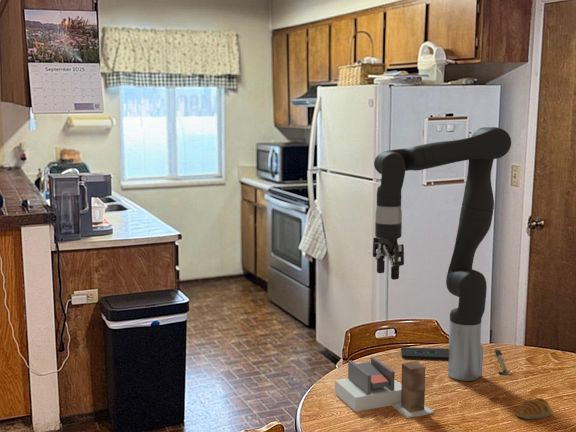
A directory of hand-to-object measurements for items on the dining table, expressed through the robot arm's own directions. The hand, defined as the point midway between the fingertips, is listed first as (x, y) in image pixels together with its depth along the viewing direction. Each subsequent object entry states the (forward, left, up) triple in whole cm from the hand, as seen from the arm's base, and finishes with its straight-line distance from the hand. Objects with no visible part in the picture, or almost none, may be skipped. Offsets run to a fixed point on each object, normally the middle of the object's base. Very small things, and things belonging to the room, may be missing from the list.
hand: (387, 275), depth 201 cm
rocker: (+10, +10, -25) cm, 29 cm away
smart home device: (-25, -13, -33) cm, 43 cm away
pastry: (-26, +34, -33) cm, 54 cm away
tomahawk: (-43, +1, -33) cm, 54 cm away
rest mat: (+3, +21, -32) cm, 38 cm away
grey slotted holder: (+10, +10, -32) cm, 35 cm away
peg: (+3, +20, -32) cm, 38 cm away
